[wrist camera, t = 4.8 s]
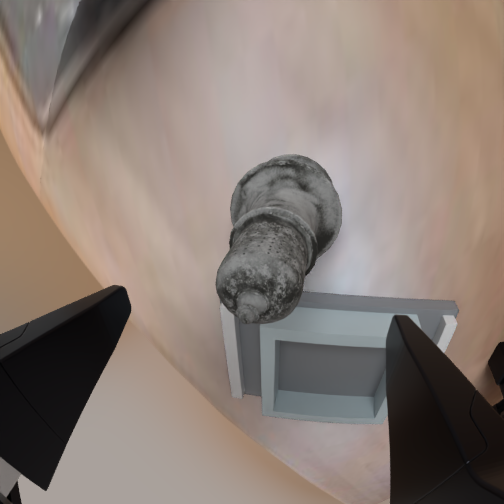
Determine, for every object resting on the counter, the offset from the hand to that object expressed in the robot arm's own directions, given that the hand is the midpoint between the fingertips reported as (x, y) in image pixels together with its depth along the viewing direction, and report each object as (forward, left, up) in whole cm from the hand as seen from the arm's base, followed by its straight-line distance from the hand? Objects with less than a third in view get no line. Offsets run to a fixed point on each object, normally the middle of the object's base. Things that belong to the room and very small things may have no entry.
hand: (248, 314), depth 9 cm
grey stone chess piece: (0, 0, -12) cm, 12 cm away
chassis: (-4, +13, -12) cm, 18 cm away
